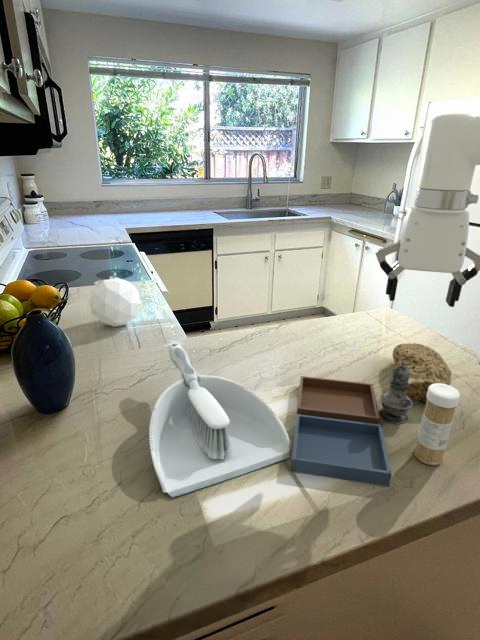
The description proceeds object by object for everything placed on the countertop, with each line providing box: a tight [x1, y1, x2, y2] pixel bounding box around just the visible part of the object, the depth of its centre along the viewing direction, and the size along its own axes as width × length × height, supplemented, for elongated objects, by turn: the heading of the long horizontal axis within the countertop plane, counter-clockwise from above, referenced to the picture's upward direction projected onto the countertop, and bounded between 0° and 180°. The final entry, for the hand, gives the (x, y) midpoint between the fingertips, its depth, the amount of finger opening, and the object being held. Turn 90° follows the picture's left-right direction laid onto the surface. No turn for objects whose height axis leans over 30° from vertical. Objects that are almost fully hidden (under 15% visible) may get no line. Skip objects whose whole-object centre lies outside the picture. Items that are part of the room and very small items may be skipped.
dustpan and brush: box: [148, 342, 292, 499], centre depth 75 cm, size 23×33×10 cm
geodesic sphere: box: [88, 275, 141, 328], centre depth 115 cm, size 15×14×14 cm
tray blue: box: [290, 413, 392, 487], centre depth 69 cm, size 15×12×2 cm
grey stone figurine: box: [378, 362, 413, 425], centre depth 77 cm, size 6×6×12 cm
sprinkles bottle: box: [413, 383, 461, 466], centre depth 66 cm, size 5×5×14 cm
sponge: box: [391, 342, 452, 403], centre depth 90 cm, size 13×8×20 cm
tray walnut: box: [296, 375, 381, 425], centre depth 81 cm, size 15×12×2 cm
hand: (419, 301), depth 71 cm, fingers open, 9 cm apart
